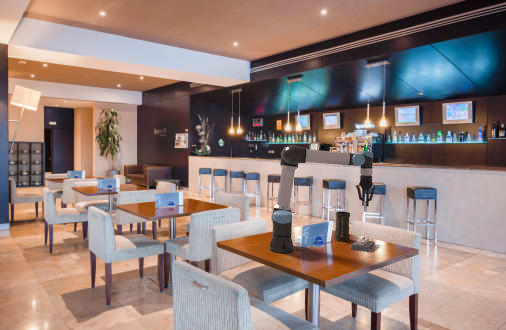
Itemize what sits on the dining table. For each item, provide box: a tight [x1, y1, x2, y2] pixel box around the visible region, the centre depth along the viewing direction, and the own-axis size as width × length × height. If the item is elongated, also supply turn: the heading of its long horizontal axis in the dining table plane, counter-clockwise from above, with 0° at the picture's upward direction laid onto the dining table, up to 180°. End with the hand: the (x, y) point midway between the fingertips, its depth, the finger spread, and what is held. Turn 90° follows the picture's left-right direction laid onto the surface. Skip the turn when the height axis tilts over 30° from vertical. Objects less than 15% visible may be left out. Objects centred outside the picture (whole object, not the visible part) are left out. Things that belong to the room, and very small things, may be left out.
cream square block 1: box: [356, 239, 365, 246], centre depth 224 cm, size 4×4×3 cm
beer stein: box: [333, 210, 351, 242], centre depth 247 cm, size 15×11×20 cm
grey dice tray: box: [350, 238, 376, 253], centre depth 229 cm, size 10×18×3 cm, turn 148°
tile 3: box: [362, 236, 371, 242], centre depth 233 cm, size 4×4×3 cm
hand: (365, 211), depth 228 cm, fingers closed
